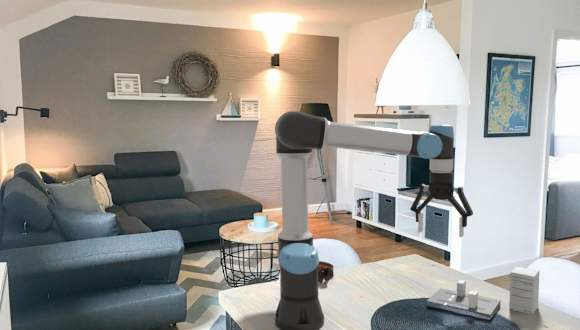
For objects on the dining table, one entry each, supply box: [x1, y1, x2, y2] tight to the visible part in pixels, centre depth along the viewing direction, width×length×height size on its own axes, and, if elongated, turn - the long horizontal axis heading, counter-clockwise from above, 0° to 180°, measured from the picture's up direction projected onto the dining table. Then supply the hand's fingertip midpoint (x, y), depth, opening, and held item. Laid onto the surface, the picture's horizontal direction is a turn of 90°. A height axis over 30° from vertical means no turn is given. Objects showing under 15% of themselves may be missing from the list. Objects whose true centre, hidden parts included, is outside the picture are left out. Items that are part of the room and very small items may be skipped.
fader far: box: [456, 279, 467, 297], centre depth 164 cm, size 4×2×5 cm, turn 145°
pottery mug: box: [318, 260, 334, 284], centre depth 186 cm, size 12×10×8 cm
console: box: [426, 287, 502, 318], centre depth 160 cm, size 15×20×2 cm
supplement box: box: [508, 266, 540, 315], centre depth 157 cm, size 7×7×13 cm
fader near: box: [468, 290, 479, 309], centre depth 154 cm, size 4×2×5 cm, turn 145°
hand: (440, 234), depth 162 cm, fingers open, 13 cm apart
